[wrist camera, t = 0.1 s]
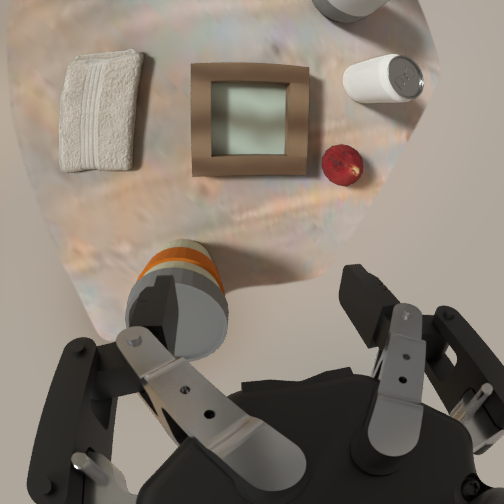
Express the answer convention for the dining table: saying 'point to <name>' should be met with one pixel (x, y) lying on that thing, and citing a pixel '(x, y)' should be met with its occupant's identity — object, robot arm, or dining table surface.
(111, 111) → the washcloth
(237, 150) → the holder
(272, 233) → the dining table surface
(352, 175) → the onion
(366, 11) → the smart speaker
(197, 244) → the reusable coffee cup
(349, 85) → the can
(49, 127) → the dining table surface
